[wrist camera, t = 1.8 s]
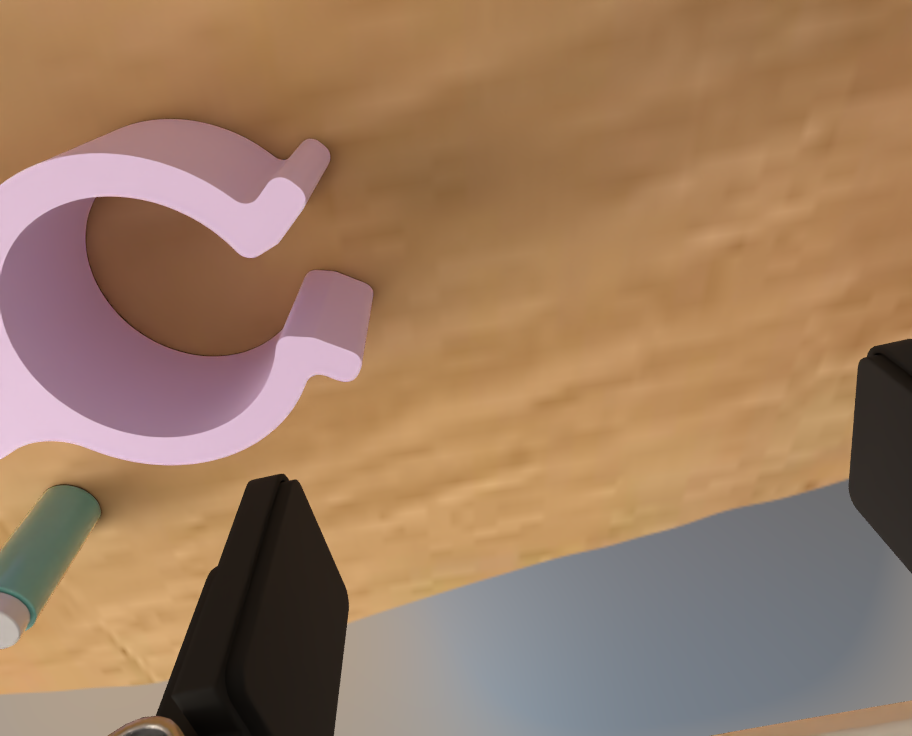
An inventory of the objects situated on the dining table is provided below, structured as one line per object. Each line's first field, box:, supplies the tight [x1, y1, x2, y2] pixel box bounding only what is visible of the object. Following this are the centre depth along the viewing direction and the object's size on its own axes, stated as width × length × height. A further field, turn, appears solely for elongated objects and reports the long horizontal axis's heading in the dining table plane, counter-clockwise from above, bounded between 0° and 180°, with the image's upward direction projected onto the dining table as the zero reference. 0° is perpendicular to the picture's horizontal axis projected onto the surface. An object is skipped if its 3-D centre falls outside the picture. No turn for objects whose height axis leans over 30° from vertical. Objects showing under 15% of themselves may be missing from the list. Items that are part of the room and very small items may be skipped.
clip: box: [0, 119, 373, 465], centre depth 28 cm, size 20×12×7 cm, turn 103°
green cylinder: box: [0, 485, 101, 649], centre depth 33 cm, size 3×3×8 cm
